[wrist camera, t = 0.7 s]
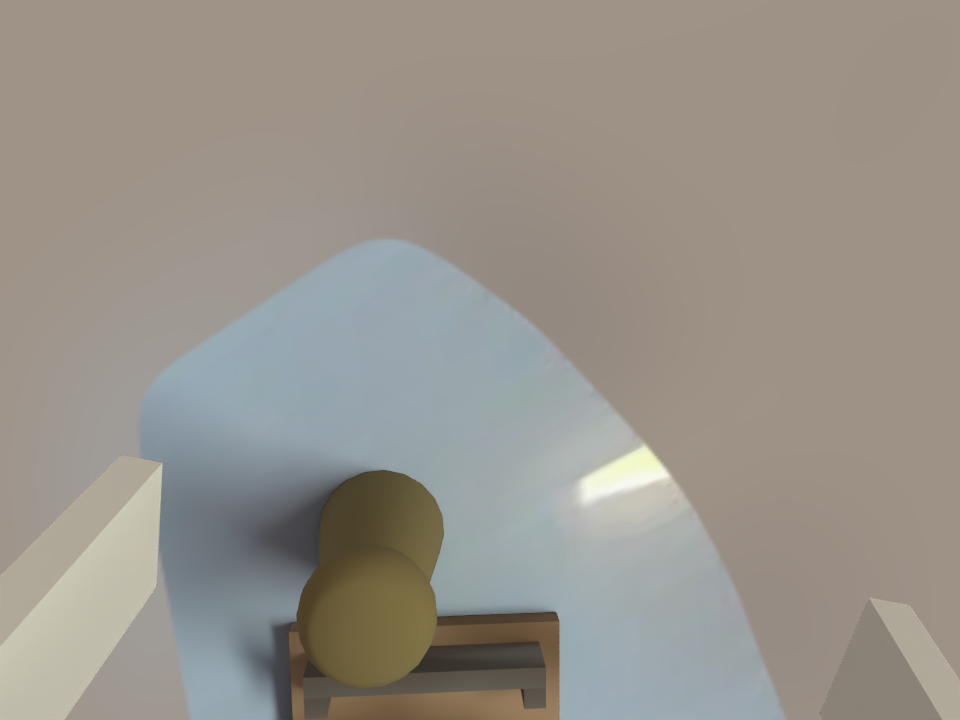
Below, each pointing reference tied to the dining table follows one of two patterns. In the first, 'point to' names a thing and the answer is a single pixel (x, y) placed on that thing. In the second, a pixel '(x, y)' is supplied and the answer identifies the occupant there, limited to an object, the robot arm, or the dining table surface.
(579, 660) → the dining table surface
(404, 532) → the cork
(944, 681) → the robot arm
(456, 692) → the socket
